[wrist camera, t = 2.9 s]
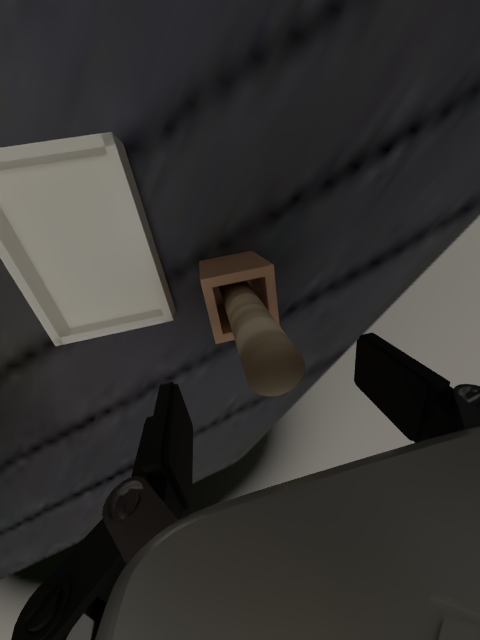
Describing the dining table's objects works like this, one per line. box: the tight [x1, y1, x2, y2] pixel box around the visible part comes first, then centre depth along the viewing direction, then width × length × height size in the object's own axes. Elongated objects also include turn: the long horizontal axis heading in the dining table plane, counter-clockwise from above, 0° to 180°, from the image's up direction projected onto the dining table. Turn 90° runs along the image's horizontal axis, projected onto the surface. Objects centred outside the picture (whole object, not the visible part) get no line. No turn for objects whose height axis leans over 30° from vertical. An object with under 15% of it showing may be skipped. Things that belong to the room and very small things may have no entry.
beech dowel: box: [219, 281, 305, 396], centre depth 18 cm, size 3×3×16 cm
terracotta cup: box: [199, 251, 279, 344], centre depth 23 cm, size 6×6×8 cm
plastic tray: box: [0, 132, 176, 346], centre depth 21 cm, size 16×12×3 cm
